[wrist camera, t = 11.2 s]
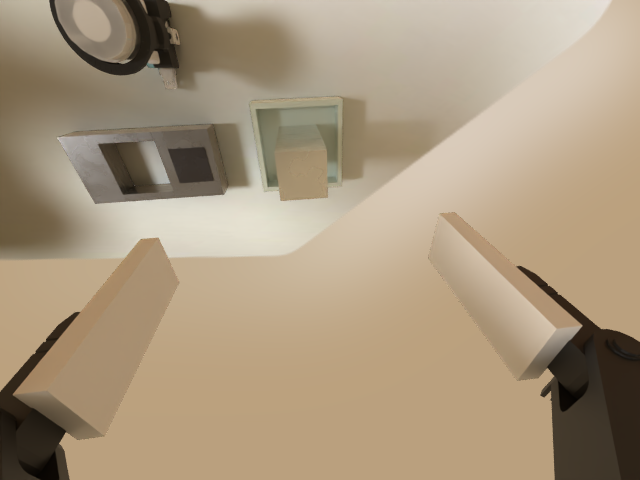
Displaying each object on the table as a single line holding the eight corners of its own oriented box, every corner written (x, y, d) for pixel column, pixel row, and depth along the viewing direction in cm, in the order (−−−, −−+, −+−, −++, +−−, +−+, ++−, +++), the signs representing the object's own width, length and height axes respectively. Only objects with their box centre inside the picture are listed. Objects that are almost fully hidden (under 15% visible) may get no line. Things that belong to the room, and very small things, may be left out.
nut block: (283, 163, 30) (280, 200, 22) (279, 126, 28) (274, 152, 20) (317, 161, 30) (327, 197, 22) (316, 124, 28) (326, 149, 20)
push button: (203, 88, 26) (162, 100, 18) (146, 87, 25) (76, 98, 17) (185, -3, 22) (122, -42, 14) (118, -6, 22) (11, -49, 13)
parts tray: (265, 183, 32) (263, 191, 30) (252, 100, 27) (249, 103, 25) (338, 178, 32) (341, 186, 30) (338, 96, 27) (342, 98, 25)
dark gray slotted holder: (108, 194, 31) (94, 204, 29) (74, 131, 27) (56, 137, 25) (228, 186, 32) (223, 194, 29) (212, 124, 28) (206, 129, 25)
